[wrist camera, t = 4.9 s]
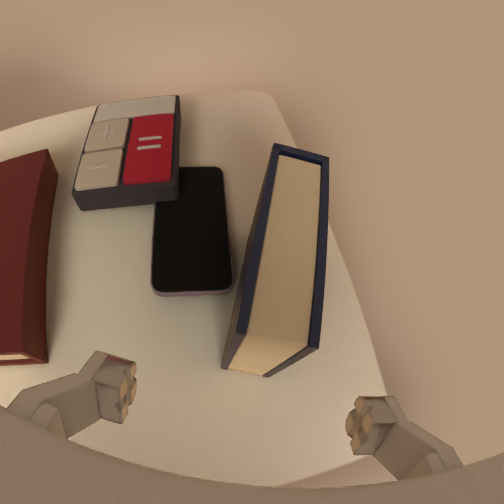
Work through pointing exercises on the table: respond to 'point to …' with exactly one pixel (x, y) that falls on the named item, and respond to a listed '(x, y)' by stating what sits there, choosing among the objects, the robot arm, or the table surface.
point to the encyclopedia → (25, 255)
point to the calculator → (130, 154)
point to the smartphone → (193, 237)
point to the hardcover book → (282, 267)
